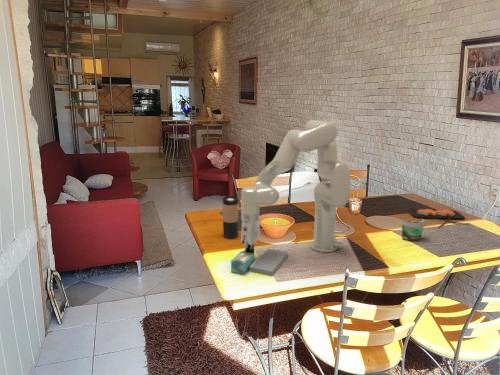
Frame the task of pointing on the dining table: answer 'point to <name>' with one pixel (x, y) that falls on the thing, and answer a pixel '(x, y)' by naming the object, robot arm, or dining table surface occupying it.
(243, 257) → the teal rectangular box
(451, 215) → the sushi plate
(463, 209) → the dining table surface
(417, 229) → the food container
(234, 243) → the dining table surface
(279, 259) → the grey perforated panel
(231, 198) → the travel mug
